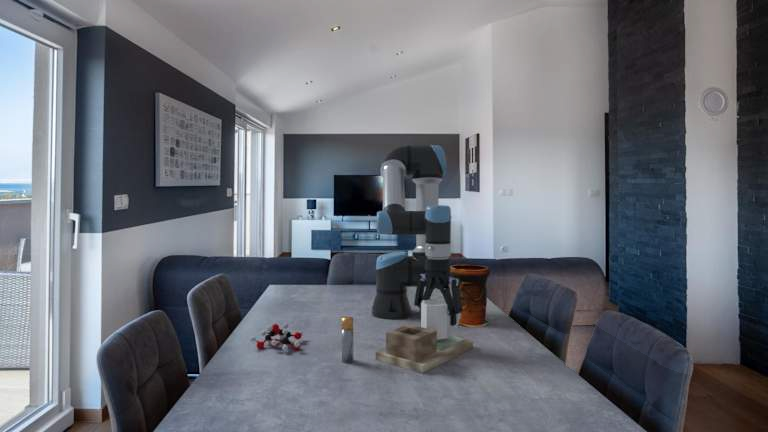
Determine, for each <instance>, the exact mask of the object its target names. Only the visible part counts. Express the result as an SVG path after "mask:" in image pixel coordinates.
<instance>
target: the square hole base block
mask: <svg viewBox="0 0 768 432" xmlns="http://www.w3.org/2000/svg"><path fill="white" fill-rule="evenodd" d="M385 334H386V335H385V348H382V349H379V350H377V351H375V360H377V361H380V362H383V363H386V364H390V365H394V366H397V367H400V368H402V369H406V370H410V371H413V372H416V373H418V374H419V373H420V374H424V373H426V372H428V371H430V370H432V369H434V368H436V367H438V366H440V365H442V364H444V363H446V362H447V361H450V360H452V359H454V358H456V357H457V356H459V355H461V354H463V353H465V352H467V351H469V350H471V349H472V348H474V340H470V339H466V338H463V337H458V336H455V335H453V336H451V337H447V338H444V339H439V340H437V331H435V330H431V329H427V328H422V327H421V326H418V325H412V324H404V325H402V326H400V327H396V328H395V329H394V328H393V329H390V330H388V331H386V332H385Z"/></svg>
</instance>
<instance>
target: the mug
mask: <svg viewBox="0 0 768 432" xmlns="http://www.w3.org/2000/svg"><path fill="white" fill-rule="evenodd" d="M448 314H450V313H449V310H448V308H447V304H446V302H445V299H436V298H430V299H428V300H423V301H422V302H421V319H420V327H422V328H427V329H431V330H435V331H437V340H439V339H444V338H447V315H448ZM460 317H461V313H458V314H457V323H456V325H454V329H456V330H457V329H458V326H459V325H460V324H459V320H460Z"/></svg>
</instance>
